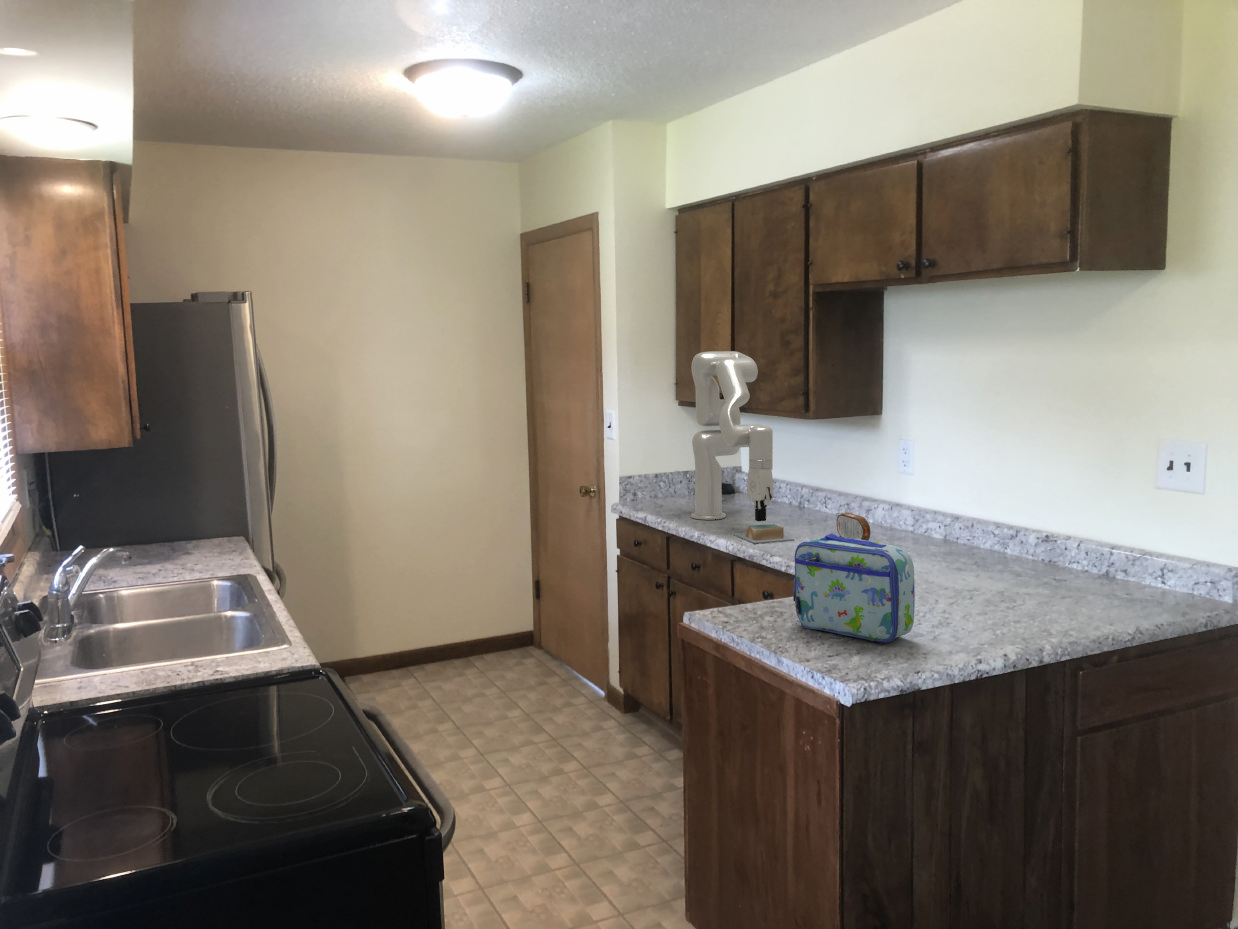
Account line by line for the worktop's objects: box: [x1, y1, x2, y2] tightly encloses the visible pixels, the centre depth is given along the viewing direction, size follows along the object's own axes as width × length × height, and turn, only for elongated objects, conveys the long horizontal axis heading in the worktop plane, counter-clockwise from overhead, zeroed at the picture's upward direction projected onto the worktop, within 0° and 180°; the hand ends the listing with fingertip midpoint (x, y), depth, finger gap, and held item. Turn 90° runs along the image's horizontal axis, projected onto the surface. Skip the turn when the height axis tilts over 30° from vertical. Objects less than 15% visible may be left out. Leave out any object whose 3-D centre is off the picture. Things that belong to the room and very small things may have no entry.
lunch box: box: [792, 532, 916, 644], centre depth 207 cm, size 26×11×21 cm, turn 44°
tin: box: [836, 512, 871, 541], centre depth 304 cm, size 15×3×8 cm, turn 22°
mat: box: [733, 532, 795, 545], centre depth 310 cm, size 15×14×1 cm
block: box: [745, 523, 785, 541], centre depth 308 cm, size 4×10×6 cm
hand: (760, 520), depth 311 cm, fingers closed
